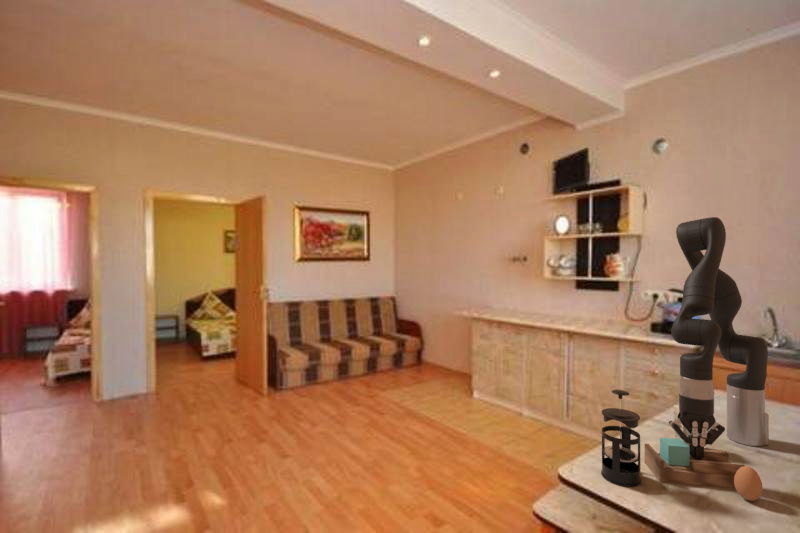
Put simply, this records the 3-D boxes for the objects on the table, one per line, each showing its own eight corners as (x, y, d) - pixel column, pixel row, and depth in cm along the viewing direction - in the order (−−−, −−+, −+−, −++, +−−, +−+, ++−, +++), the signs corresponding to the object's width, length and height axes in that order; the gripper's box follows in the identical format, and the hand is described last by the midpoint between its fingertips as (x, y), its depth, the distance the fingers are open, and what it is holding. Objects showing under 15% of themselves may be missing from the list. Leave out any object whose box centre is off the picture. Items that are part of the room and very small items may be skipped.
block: (680, 457, 110) (680, 438, 110) (689, 466, 105) (689, 447, 105) (660, 455, 111) (660, 437, 111) (668, 464, 106) (668, 445, 106)
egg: (728, 494, 99) (728, 461, 99) (747, 492, 99) (747, 460, 99) (748, 506, 94) (748, 472, 94) (768, 505, 94) (768, 471, 94)
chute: (724, 468, 111) (724, 449, 111) (748, 489, 101) (748, 467, 101) (644, 462, 114) (644, 443, 114) (660, 481, 105) (660, 460, 105)
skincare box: (699, 453, 120) (699, 412, 119) (683, 452, 120) (683, 411, 120) (688, 443, 126) (688, 404, 126) (673, 442, 127) (673, 404, 127)
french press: (635, 492, 100) (635, 400, 100) (595, 479, 106) (594, 392, 106) (646, 474, 108) (646, 388, 108) (608, 462, 115) (608, 382, 115)
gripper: (715, 390, 110) (716, 454, 110) (662, 388, 112) (662, 450, 112) (733, 399, 102) (733, 467, 102) (675, 397, 105) (675, 463, 105)
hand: (696, 458), depth 107 cm, fingers closed
